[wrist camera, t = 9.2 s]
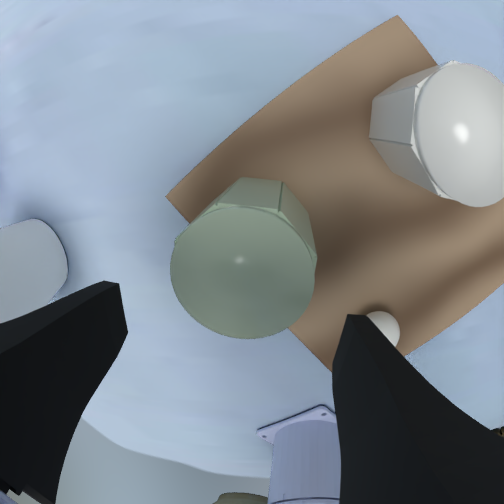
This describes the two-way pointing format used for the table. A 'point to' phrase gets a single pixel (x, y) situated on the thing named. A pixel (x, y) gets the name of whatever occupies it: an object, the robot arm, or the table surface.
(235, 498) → the planter bowl
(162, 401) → the table surface
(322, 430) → the robot arm
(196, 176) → the walnut board
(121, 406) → the table surface
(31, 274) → the cup
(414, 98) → the white acorn nut
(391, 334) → the white marble
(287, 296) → the sage green acorn nut
